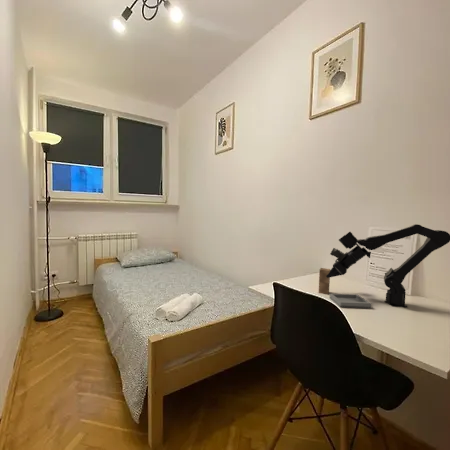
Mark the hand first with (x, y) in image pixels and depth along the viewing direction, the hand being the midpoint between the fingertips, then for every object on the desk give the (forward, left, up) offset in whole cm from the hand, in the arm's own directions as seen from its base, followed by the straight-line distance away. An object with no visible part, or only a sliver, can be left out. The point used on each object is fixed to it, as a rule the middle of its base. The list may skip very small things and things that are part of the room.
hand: (327, 275), depth 127 cm
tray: (-5, +14, -9) cm, 17 cm away
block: (+1, -1, -9) cm, 9 cm away
